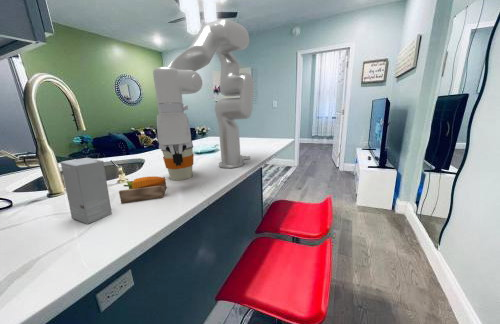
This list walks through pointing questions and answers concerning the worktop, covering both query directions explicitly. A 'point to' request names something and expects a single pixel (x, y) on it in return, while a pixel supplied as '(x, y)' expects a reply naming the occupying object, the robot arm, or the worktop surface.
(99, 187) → the skincare box
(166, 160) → the reusable coffee cup
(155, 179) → the carrot
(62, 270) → the worktop surface
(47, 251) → the worktop surface
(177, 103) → the robot arm
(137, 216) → the worktop surface
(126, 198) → the walnut U-rest
